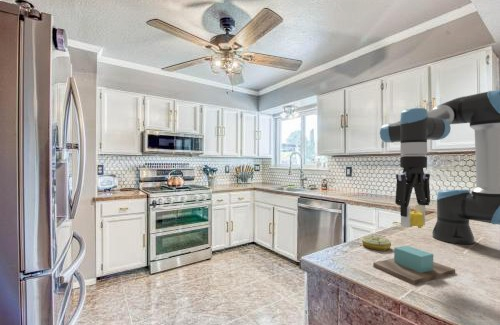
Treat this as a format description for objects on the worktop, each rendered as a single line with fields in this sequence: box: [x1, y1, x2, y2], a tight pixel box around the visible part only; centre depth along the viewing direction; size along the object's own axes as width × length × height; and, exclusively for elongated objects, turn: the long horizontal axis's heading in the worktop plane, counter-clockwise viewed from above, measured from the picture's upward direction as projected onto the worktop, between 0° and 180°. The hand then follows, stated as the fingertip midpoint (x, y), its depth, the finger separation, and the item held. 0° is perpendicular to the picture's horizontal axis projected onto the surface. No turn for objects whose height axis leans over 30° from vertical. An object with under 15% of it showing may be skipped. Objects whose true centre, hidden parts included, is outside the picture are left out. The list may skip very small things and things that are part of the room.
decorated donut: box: [361, 235, 392, 252], centre depth 106 cm, size 10×11×4 cm
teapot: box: [409, 209, 424, 229], centre depth 83 cm, size 8×6×5 cm
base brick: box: [393, 245, 434, 273], centre depth 84 cm, size 6×9×5 cm, turn 23°
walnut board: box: [372, 257, 456, 285], centre depth 84 cm, size 20×14×1 cm
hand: (413, 225), depth 84 cm, fingers closed on teapot, 7 cm apart
